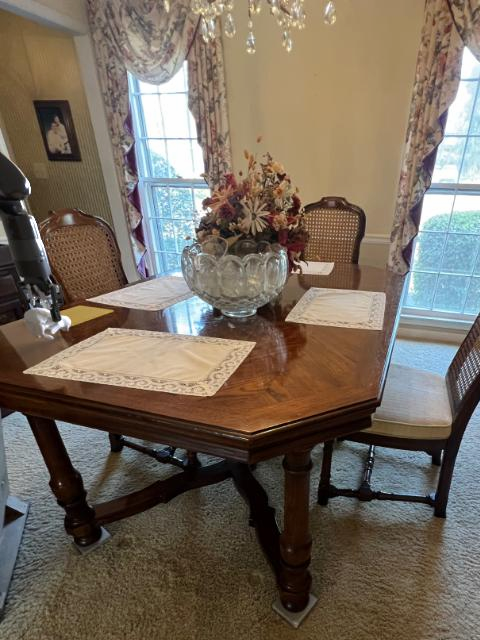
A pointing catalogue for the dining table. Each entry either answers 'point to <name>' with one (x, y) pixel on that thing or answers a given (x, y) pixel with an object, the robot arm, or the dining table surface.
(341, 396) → the dining table surface
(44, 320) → the white animal figurine
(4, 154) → the robot arm
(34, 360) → the dining table surface
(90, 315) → the cloth
